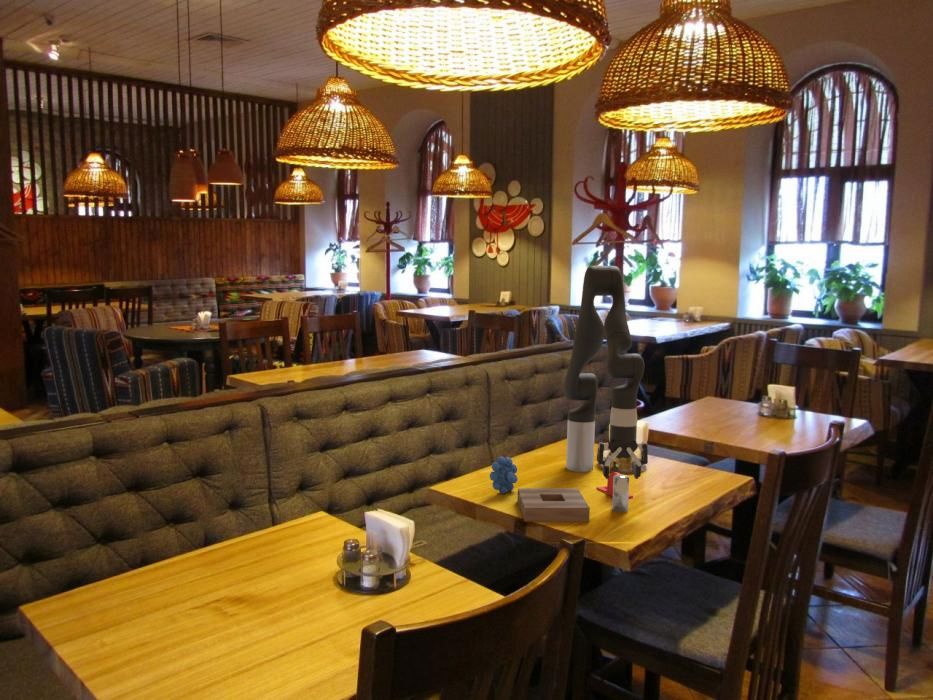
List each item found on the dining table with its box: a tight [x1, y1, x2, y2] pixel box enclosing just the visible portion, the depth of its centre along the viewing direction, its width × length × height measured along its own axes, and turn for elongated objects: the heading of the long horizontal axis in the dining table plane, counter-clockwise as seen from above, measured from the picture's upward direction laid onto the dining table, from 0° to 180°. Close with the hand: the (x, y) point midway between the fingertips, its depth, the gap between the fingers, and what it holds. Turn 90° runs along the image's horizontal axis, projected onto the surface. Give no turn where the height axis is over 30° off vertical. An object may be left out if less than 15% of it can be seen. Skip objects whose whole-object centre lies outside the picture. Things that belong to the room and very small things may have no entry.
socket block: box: [517, 487, 591, 523], centre depth 222 cm, size 18×18×4 cm
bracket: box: [596, 471, 634, 500], centre depth 239 cm, size 12×4×8 cm, turn 29°
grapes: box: [489, 456, 519, 495], centre depth 237 cm, size 12×7×12 cm, turn 133°
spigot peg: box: [611, 473, 630, 513], centre depth 224 cm, size 4×4×10 cm
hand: (621, 478), depth 223 cm, fingers open, 8 cm apart
